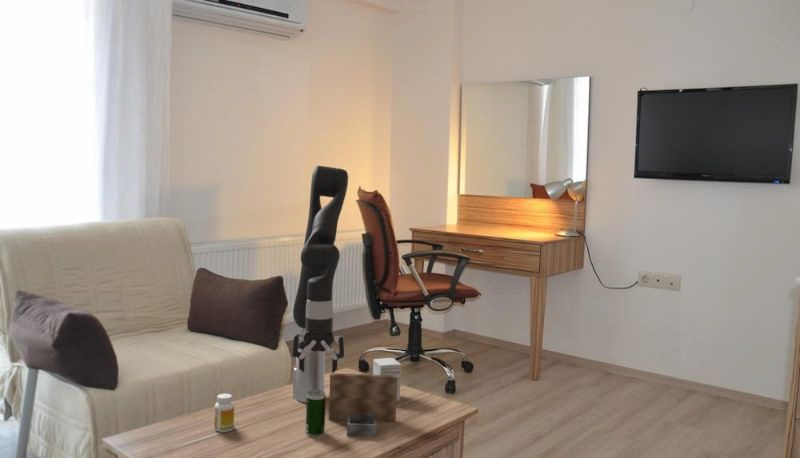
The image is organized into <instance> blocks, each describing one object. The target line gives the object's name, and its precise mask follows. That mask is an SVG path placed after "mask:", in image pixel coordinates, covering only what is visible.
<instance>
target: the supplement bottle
mask: <svg viewBox="0 0 800 458" xmlns="http://www.w3.org/2000/svg"><path fill="white" fill-rule="evenodd" d="M216 398H217V399H216V403H215V404H214V423H213V424H214V427H213V428H214V430H215V431H216V432H218V431H219V432H220V433H226V432H227V433H228V432H231V431H233V429H234V427H235V404H234V402H233V401H232V400H233V395H232V394H231V393H220V394H218V395H217V396H216Z"/></svg>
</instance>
